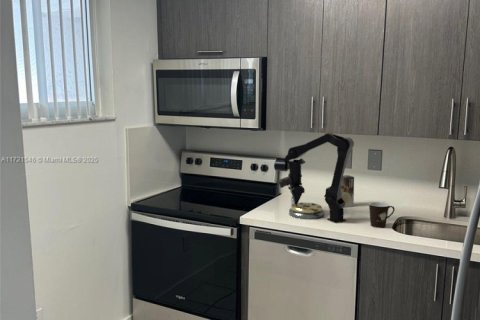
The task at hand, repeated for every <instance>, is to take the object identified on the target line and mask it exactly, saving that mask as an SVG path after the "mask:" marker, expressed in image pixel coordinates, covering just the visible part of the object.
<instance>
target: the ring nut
mask: <svg viewBox="0 0 480 320" xmlns="http://www.w3.org/2000/svg"><path fill="white" fill-rule="evenodd" d="M290 209H291V210H292V211H293V212H296V213H300V214H316V213H320V212H322V210H323V205H321V204H319V203H314V202H298V204H297V205H295V202H294V197H292V196H291V207H290Z"/></svg>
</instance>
